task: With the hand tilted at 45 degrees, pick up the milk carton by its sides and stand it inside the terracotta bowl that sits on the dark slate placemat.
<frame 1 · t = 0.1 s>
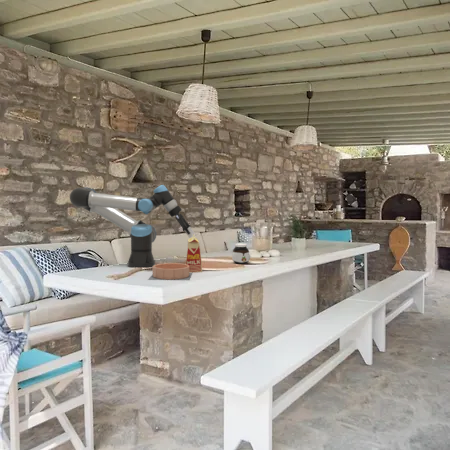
hand: (193, 237, 264), 15 cm above the table, tool tilted 35°, fingers open, 13 cm apart
bowl: (171, 271, 220), on the placemat
spread jar: (241, 263, 268), on the table
milk carton: (193, 272, 235), on the table
placemat: (171, 276, 220), on the table
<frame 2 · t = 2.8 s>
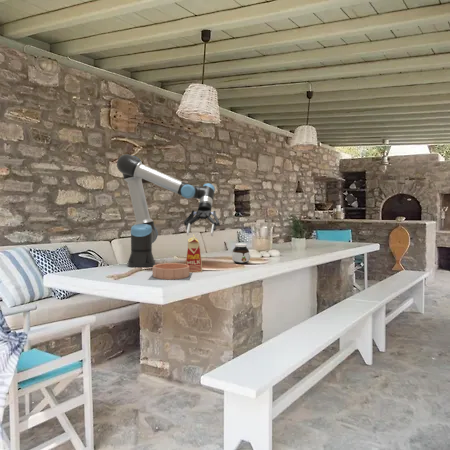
hand: (199, 234, 242), 19 cm above the table, tool tilted 45°, fingers open, 13 cm apart
nothing on the table moved.
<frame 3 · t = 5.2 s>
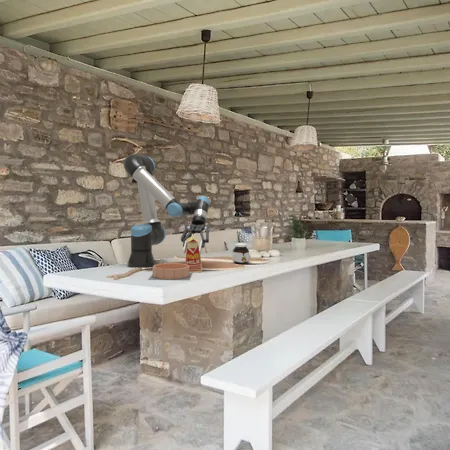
hand: (192, 251, 231), 11 cm above the table, tool tilted 45°, fingers closed on milk carton, 8 cm apart
milk carton: (193, 271, 235), on the table, touching gripper
everything else where it was.
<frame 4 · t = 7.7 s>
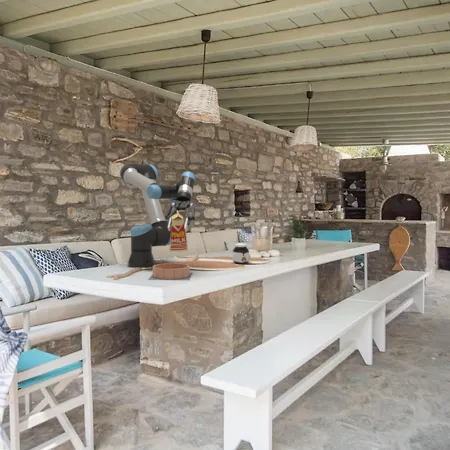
hand: (177, 229, 218), 24 cm above the table, tool tilted 45°, fingers closed on milk carton, 8 cm apart
milk carton: (178, 250, 223), point 13 cm above the table, touching gripper
everything else where it was.
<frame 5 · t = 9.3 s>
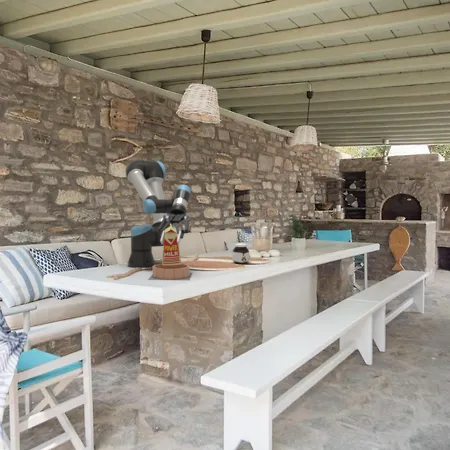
hand: (169, 242, 215), 18 cm above the table, tool tilted 45°, fingers closed on milk carton, 8 cm apart
milk carton: (171, 264, 219), point 6 cm above the table, touching gripper
everything else where it was.
when the fingers open (14 cm above the table, at t = 10.4 s): milk carton drops 1 cm, resting on bowl.
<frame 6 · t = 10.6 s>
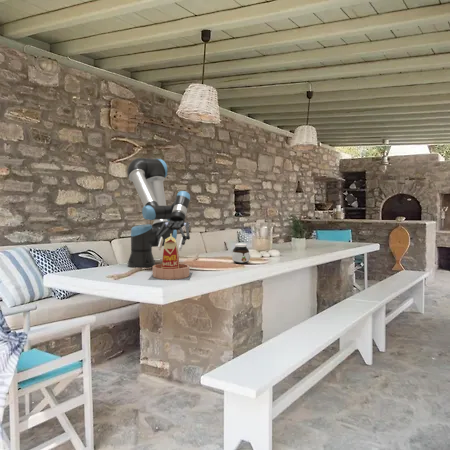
hand: (169, 248, 216), 14 cm above the table, tool tilted 45°, fingers open, 10 cm apart
milk carton: (171, 274, 220), point 1 cm above the table, touching bowl
everything else where it was.
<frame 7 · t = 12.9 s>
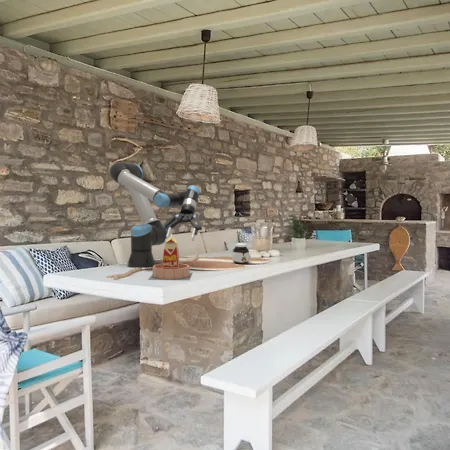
hand: (179, 238, 230), 18 cm above the table, tool tilted 45°, fingers open, 13 cm apart
nothing on the table moved.
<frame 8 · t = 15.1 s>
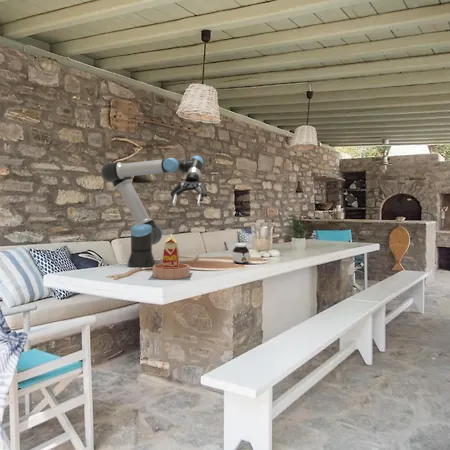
hand: (186, 204, 235), 36 cm above the table, tool tilted 45°, fingers open, 13 cm apart
nothing on the table moved.
at the end: milk carton 0.3 cm from the bowl (horizontally); milk carton tilted 0°; the gripper is holding nothing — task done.
